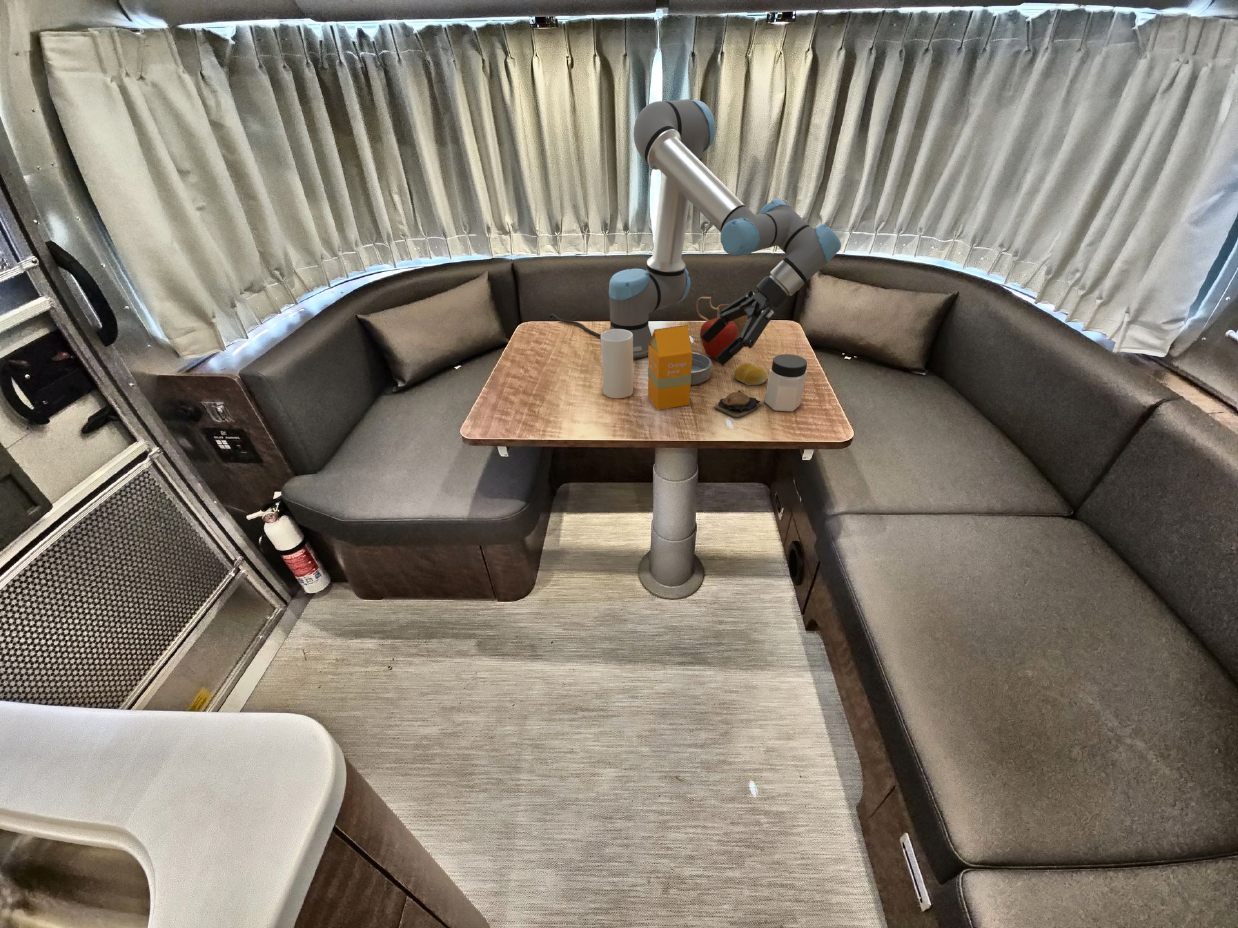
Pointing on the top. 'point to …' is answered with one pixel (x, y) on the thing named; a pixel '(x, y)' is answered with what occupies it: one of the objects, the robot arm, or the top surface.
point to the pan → (700, 368)
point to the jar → (786, 382)
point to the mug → (738, 322)
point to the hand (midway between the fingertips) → (711, 350)
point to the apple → (718, 338)
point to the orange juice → (669, 367)
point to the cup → (617, 363)
